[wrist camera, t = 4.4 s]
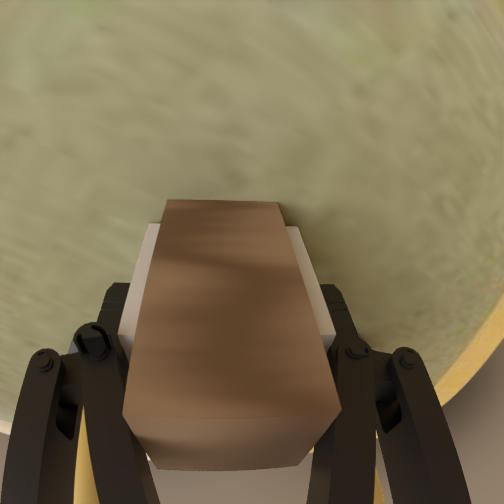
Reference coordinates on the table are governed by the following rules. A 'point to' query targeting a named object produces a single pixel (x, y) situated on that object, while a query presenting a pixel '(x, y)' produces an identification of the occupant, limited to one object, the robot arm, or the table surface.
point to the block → (227, 344)
